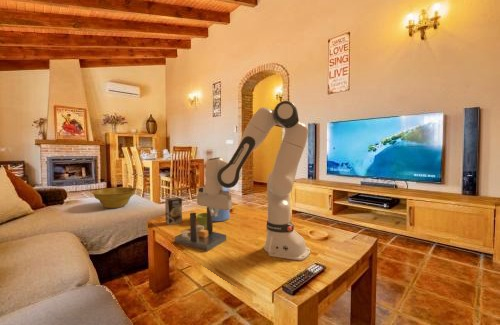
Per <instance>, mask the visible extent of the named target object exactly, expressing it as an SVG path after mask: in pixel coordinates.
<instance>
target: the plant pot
mask: <svg viewBox="0 0 500 325" xmlns="http://www.w3.org/2000/svg"><path fill="white" fill-rule="evenodd" d="M196 220H197V223H198V225H202V226H204V230H207V212H201V213H200V212H199V213H196Z"/></svg>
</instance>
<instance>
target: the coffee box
mask: <svg viewBox="0 0 500 325" xmlns="http://www.w3.org/2000/svg"><path fill="white" fill-rule="evenodd" d="M164 199H165V200H164V202H165V204H164V205H165V208H164V209H165V214H164V215H165V216H164V217H165V223H166V225H169V226H172V225H176V224H179V223H180V224H181V223H183V198H181V197H178V196H177V197H170V198H164Z"/></svg>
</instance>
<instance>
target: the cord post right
mask: <svg viewBox="0 0 500 325" xmlns="http://www.w3.org/2000/svg"><path fill="white" fill-rule="evenodd" d="M206 213H207V230H208V233H212V232H214V231H213V222H214V221H212V216H211V212H210V210H209V207H206Z"/></svg>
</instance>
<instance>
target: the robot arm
mask: <svg viewBox="0 0 500 325" xmlns="http://www.w3.org/2000/svg"><path fill="white" fill-rule="evenodd" d="M298 113H299V111H298V108H297V106H296V105H295V104H294V103H293V102H291V101H289V100H282V101H280V102H278V103H277V104H276V106H275V107H274V109H270V108H268V107H260V108H258V109H257V110H256V112H255V113H253V115H252V117H251V118H250V120H249V121H248V123H247V124H246V127H245V129H244V131H243V134H242V137H241V139H240V141H239V144H238V147H237V149H236V151H235V152H234V154H233V155H232V157H231V158H230V160H229V161H226V160H224V159H223V158H222V157H213V158H209V159H207V161H206V163H205V185H203V186H199V187H198V188H196V189H197V192H198V193H197V194H196V204H197V206H201V207H206V208H207V207H209V210H210V212H211V216H215V217H216V216H217V213H218V211H219V209H222V210H231V209H232V208H233V201H232V193H231V192H230V193H229V191H230V190H229V191H223V187H225V188H229V189H230V188H231V189H232V188H233V187H235V186H236V185H237V184H238V183H239V180H240V179H241V177H242V168H243V166H244V164H245V162H246V161H247V159H248V158H249V156H250V155H251V154H252V153H253V152H254V151H255V150H256V149H257V148H258V147H259V146H260V145H261V144H263V142H264V141H265V139H266V138H267V137H268V135H269V133H270V131H271V130H272V128H274V127H279V128H282V129H284V135H283V138H282V141H281V143H280V146H279V149H278V152H277V155H276V158H275V162H274V165H273V169H272V171H271V172H270V173H269V174H268V176H267V179H266V188H267V189H266V190H267V192H266V194H267V220H266V238H265V239H266V240H265V244H264V246H263V248H264V249H263V250H264V251H265V252H267V254H268V256H269V257H273V258H279V259H280V258H282V259H288V260H292V261H294V260H295V261H304V260H307V258H308V257H309V256H310V255H311V248H309V247H308V246H306V240H305V239H304V237H303V236H302V235H301V234H299V233H298V232H297V231H296V230H295V229H294V228H295V225H296V224H295V223H292V222H291V221H292V220H291V199H290V193H291V192H292V191H293V186H294V182H295V179H296V175H297V171H298V167H299V163H300V161H301V158H302V155H303V153H304V150H305V147H306V144H307V142H308V137H309V136H308V135H309V128H308V126H307V125H306V124H304V123H303V122H300V120H299V119H300V118H299V114H298ZM213 208H215V212H214V211H213ZM309 254H310V255H309Z"/></svg>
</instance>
